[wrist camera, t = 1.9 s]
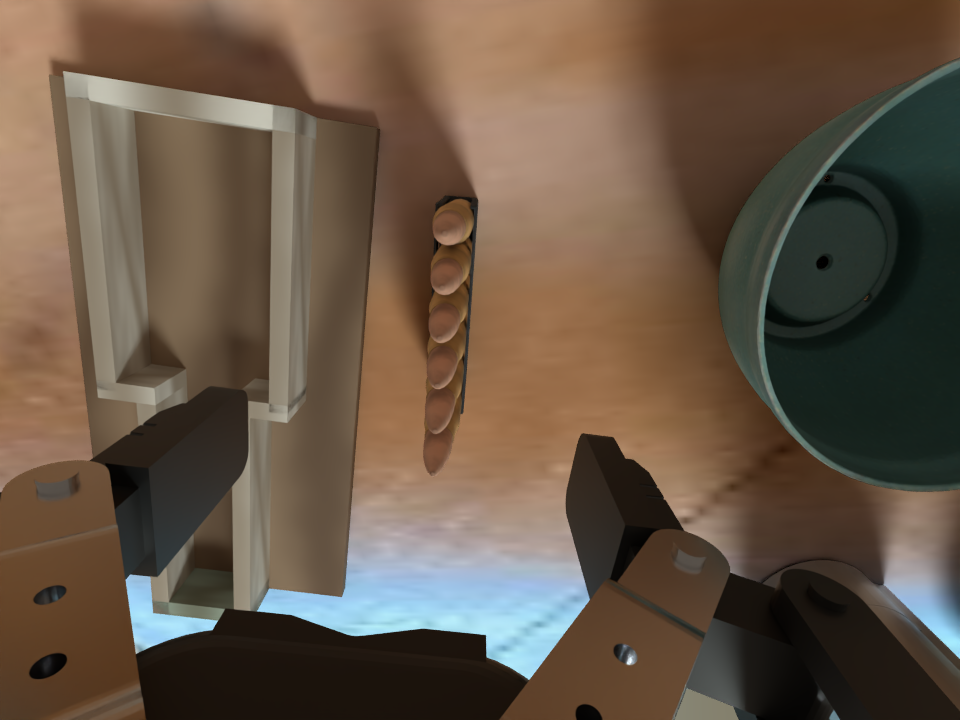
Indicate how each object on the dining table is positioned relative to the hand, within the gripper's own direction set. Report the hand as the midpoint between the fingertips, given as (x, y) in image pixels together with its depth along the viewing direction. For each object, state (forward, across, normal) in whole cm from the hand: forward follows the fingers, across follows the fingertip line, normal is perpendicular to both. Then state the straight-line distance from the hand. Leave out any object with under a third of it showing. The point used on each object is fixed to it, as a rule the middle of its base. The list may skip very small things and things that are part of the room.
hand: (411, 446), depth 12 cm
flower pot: (+18, -19, -5) cm, 27 cm away
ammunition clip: (+18, 0, 0) cm, 18 cm away
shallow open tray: (+18, +13, +7) cm, 23 cm away
